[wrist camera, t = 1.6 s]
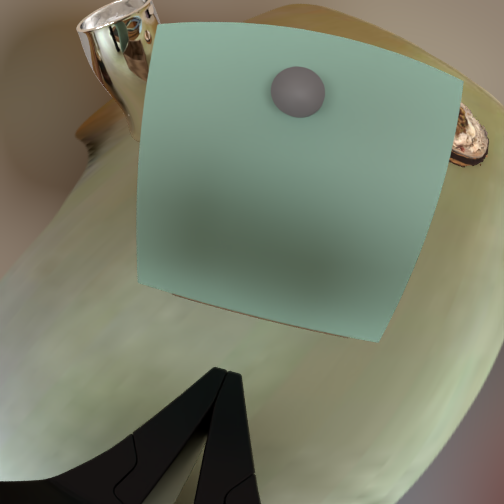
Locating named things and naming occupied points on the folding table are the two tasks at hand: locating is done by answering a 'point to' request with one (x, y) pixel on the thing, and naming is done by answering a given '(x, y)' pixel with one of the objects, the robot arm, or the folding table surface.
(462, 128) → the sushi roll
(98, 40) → the beer glass
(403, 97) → the lid
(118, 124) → the folding table surface
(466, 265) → the folding table surface
